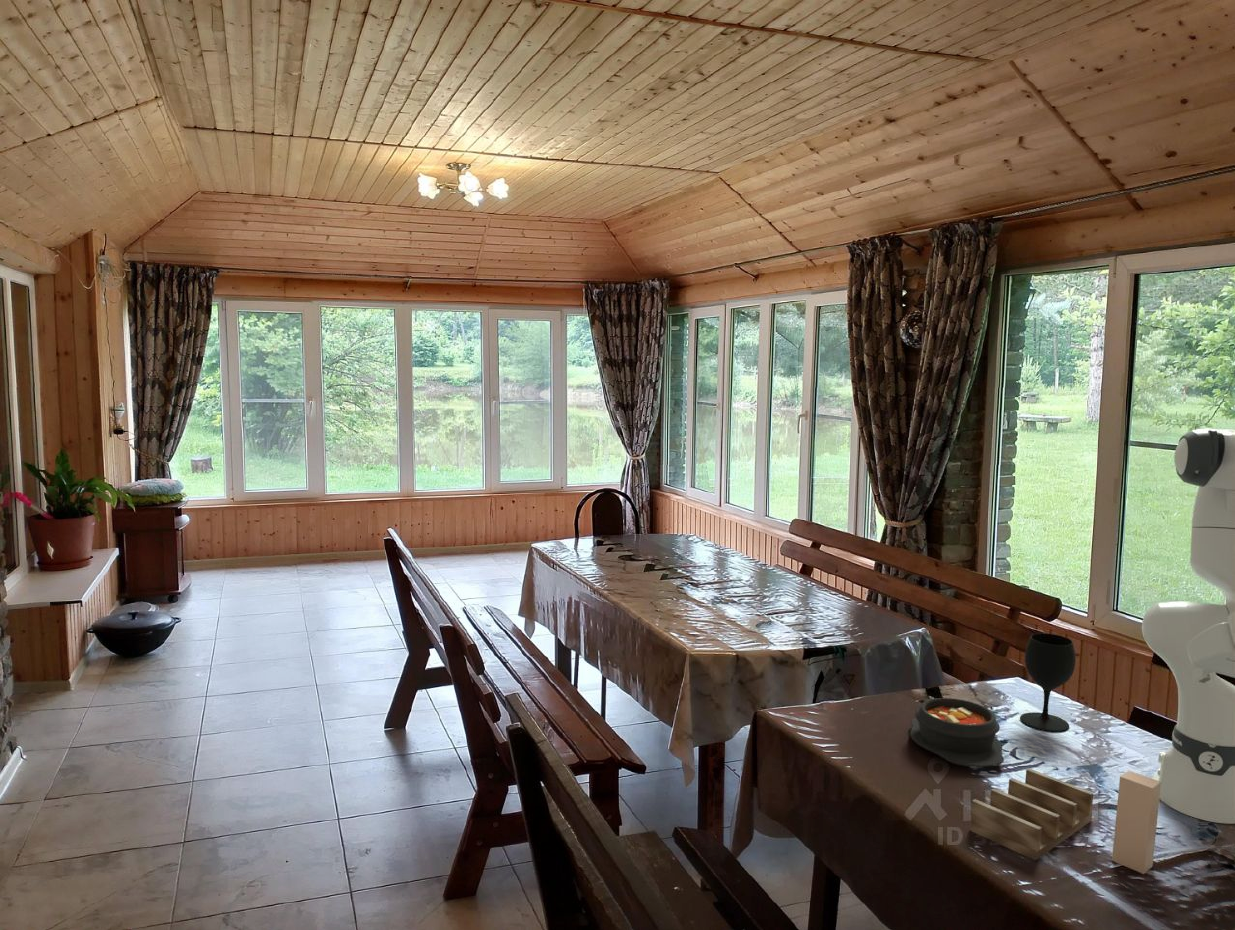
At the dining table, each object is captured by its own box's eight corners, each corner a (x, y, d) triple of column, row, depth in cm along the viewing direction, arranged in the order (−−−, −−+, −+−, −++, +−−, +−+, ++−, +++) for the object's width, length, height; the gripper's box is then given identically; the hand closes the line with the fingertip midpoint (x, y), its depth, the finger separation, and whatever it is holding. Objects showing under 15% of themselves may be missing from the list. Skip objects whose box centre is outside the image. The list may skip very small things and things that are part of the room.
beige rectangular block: (1152, 866, 151) (1161, 781, 149) (1143, 874, 149) (1152, 788, 147) (1120, 853, 155) (1128, 770, 153) (1111, 860, 153) (1120, 776, 151)
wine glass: (1055, 713, 214) (1062, 632, 211) (1078, 732, 203) (1086, 647, 201) (1011, 713, 213) (1018, 631, 211) (1033, 732, 203) (1040, 646, 200)
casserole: (1026, 775, 183) (1029, 735, 182) (936, 776, 182) (939, 736, 181) (971, 723, 208) (973, 688, 206) (891, 724, 206) (893, 688, 205)
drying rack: (1091, 820, 165) (1094, 792, 165) (1035, 860, 152) (1038, 829, 151) (1027, 794, 175) (1029, 767, 174) (969, 830, 161) (971, 801, 161)
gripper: (1356, 645, 131) (1282, 685, 142) (1224, 607, 130) (1160, 650, 141) (1370, 684, 127) (1294, 722, 138) (1234, 646, 126) (1168, 687, 137)
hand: (1225, 685), depth 140 cm, fingers open, 8 cm apart
